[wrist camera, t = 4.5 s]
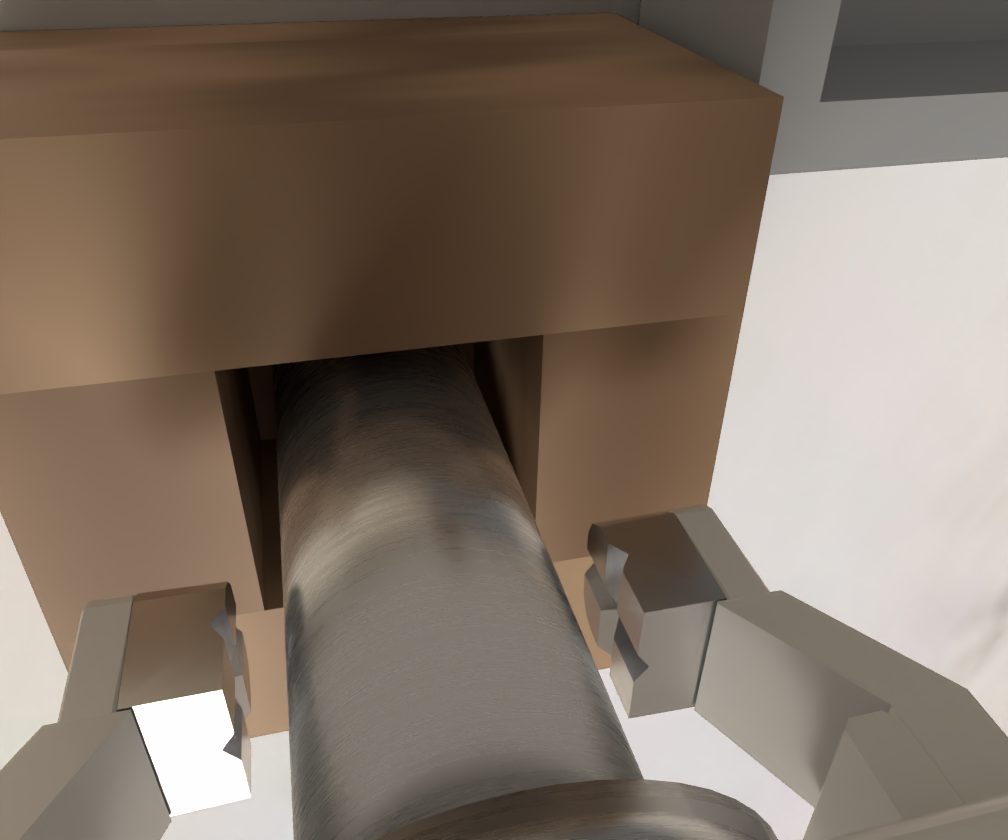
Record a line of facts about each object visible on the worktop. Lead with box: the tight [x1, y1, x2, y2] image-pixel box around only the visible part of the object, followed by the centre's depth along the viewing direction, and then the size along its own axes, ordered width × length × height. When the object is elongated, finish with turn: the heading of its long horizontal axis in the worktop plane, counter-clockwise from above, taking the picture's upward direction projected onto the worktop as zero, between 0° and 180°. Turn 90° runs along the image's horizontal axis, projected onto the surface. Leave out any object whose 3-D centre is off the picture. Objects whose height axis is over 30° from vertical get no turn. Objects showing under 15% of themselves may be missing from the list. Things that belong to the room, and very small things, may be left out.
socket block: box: [0, 13, 784, 738], centre depth 14 cm, size 10×10×6 cm
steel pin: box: [273, 344, 778, 840], centre depth 11 cm, size 5×5×12 cm
